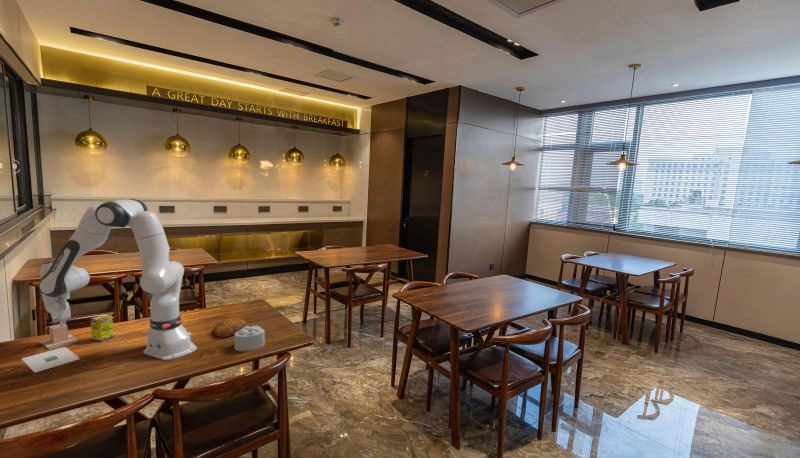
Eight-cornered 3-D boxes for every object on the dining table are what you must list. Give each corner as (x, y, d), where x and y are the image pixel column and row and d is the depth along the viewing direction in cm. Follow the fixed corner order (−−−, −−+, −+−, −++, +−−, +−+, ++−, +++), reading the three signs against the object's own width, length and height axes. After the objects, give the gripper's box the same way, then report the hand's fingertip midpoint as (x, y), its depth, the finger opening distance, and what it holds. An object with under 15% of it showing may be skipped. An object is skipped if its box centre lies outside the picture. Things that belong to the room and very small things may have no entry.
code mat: (80, 359, 154) (80, 358, 154) (34, 373, 142) (34, 372, 142) (65, 346, 163) (65, 346, 163) (21, 359, 151) (21, 358, 151)
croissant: (250, 334, 190) (252, 319, 190) (222, 340, 177) (224, 324, 177) (234, 326, 198) (236, 312, 198) (206, 331, 185) (208, 316, 185)
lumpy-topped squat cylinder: (266, 345, 174) (266, 328, 173) (239, 354, 165) (239, 336, 164) (257, 338, 182) (257, 322, 180) (230, 345, 173) (230, 328, 171)
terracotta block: (68, 340, 167) (67, 325, 166) (53, 344, 163) (52, 329, 162) (64, 337, 170) (63, 323, 169) (50, 340, 166) (48, 326, 165)
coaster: (77, 341, 168) (77, 339, 168) (48, 349, 160) (48, 347, 160) (69, 335, 174) (69, 333, 173) (41, 343, 165) (41, 341, 165)
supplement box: (101, 342, 169) (100, 320, 168) (91, 340, 170) (90, 318, 169) (114, 337, 175) (112, 315, 173) (104, 335, 176) (102, 314, 174)
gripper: (73, 298, 161) (76, 327, 163) (57, 289, 172) (60, 317, 174) (54, 302, 156) (58, 332, 158) (39, 292, 166) (42, 321, 168)
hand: (59, 324), depth 166 cm, fingers open, 8 cm apart
